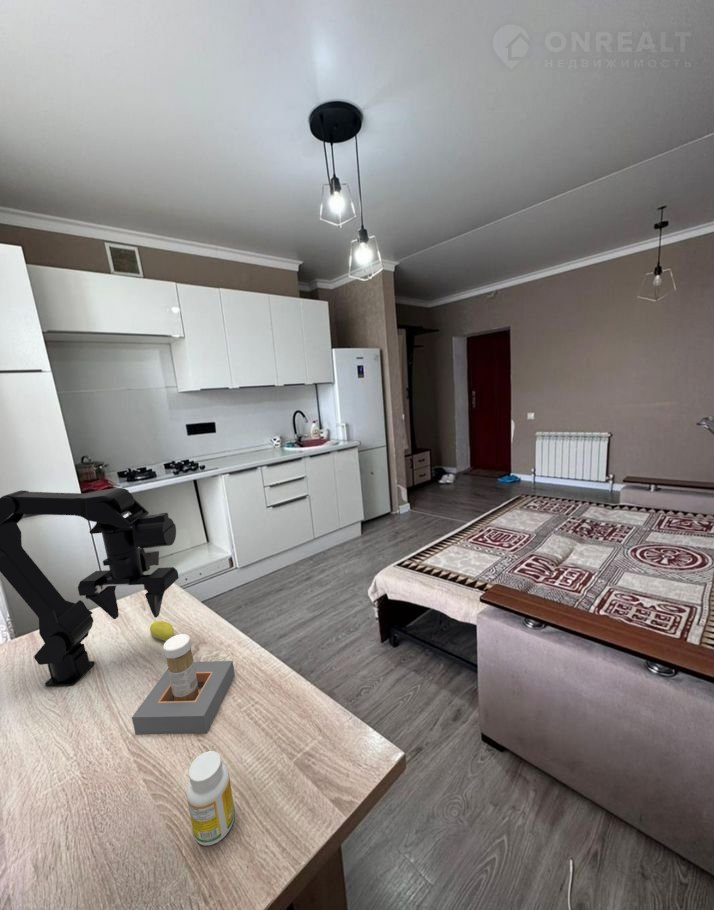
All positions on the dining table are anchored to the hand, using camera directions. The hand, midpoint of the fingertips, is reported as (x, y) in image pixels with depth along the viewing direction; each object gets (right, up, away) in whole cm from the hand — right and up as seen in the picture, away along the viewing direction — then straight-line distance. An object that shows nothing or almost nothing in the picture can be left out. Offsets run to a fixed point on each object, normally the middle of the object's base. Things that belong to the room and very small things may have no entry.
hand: (136, 617), depth 80 cm
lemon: (-1, -10, +12) cm, 16 cm away
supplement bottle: (+28, -16, -29) cm, 43 cm away
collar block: (+15, -13, -9) cm, 22 cm away
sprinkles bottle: (+15, -13, -9) cm, 22 cm away
